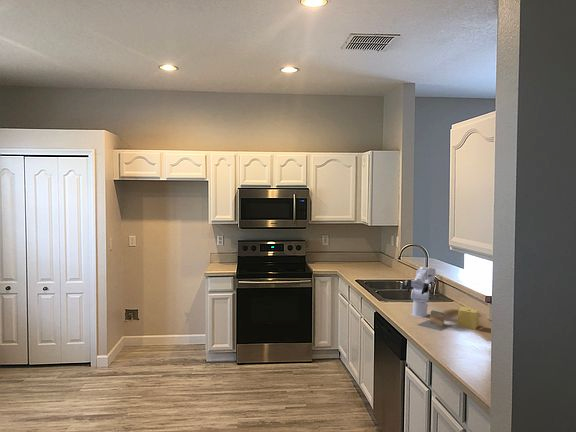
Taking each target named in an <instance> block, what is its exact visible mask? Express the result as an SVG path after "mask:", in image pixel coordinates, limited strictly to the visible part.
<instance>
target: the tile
mask: <svg viewBox="0 0 576 432" xmlns="http://www.w3.org/2000/svg"><path fill="white" fill-rule="evenodd" d="M429 316H430V317H429V318H430V319H429V320H430V323H431V324H435V325H440V326H443V325H444V324H445V312H442V311H436V310H431V311H430V315H429Z"/></svg>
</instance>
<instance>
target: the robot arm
mask: <svg viewBox="0 0 576 432" xmlns="http://www.w3.org/2000/svg"><path fill="white" fill-rule="evenodd" d="M436 271H437V270H436V268H435V267H427V266H420V267H419V269H416V271H415V272H416V273H415V277H414V279H412V280H410V279H407V280H405V282H404V286H405V288H406V289H407V292H408V293H409V292H410V290H411V294H410V299H411V300H412V301H413V303H412V313H410V314H409V315H410V316H413V317H414V316H415V317H418V318H424V317H427V316H429V314H428V305H429V304H428V301H429V299H430V291H429V290H432V289H431V288H432V285H431V284H430V283H431V282H433V281H434V280H435V278H436V273H437V272H436ZM411 288H412V289H411Z"/></svg>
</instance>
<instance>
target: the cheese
mask: <svg viewBox="0 0 576 432" xmlns="http://www.w3.org/2000/svg"><path fill="white" fill-rule="evenodd" d="M479 318H480V313H479V310H477V309H475V308H471V307H468V306H464V305H463V306H460V308H459V309H458V313H457V322H456V324H457V325H456V326H457V327H459V328H464V329H465V328H466V329H471V330H477V328H478V327H479V325H480V319H479Z"/></svg>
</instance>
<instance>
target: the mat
mask: <svg viewBox="0 0 576 432" xmlns="http://www.w3.org/2000/svg"><path fill="white" fill-rule="evenodd" d="M417 326H419V327H422V328H423V327H424V328H428V329H431V330H437V331H439V332H442V331H444V330H446V329H448V328H450V327H452V326H453V325H451V324H448V323H444V325H443V326H440V325H435V324H431V323H430V319H427V320H425V321H423V322H421V323H418V324H417Z"/></svg>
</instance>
